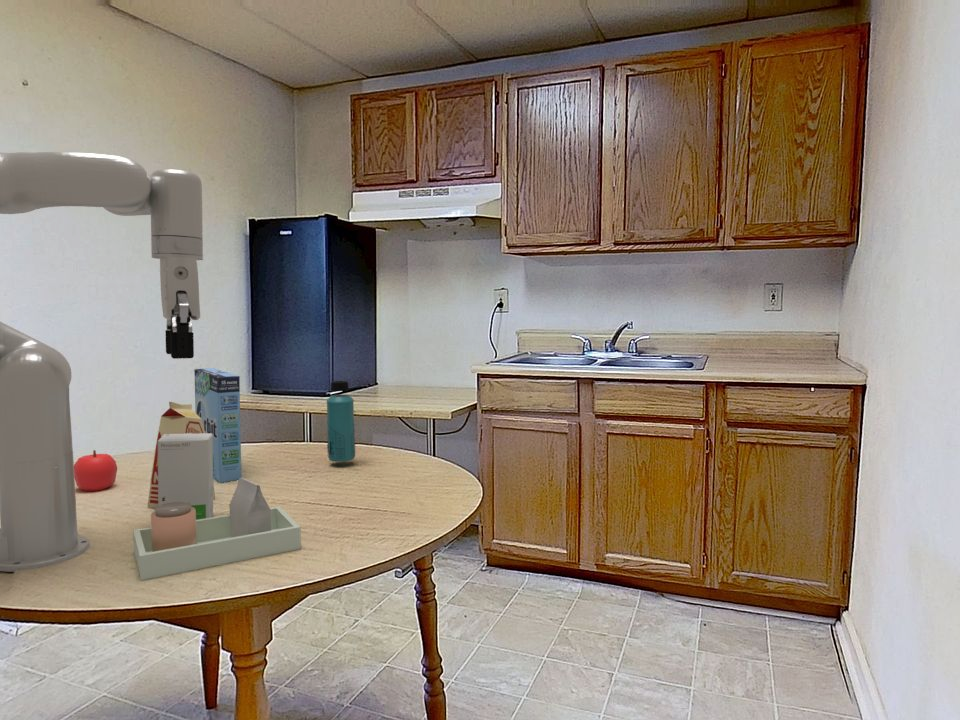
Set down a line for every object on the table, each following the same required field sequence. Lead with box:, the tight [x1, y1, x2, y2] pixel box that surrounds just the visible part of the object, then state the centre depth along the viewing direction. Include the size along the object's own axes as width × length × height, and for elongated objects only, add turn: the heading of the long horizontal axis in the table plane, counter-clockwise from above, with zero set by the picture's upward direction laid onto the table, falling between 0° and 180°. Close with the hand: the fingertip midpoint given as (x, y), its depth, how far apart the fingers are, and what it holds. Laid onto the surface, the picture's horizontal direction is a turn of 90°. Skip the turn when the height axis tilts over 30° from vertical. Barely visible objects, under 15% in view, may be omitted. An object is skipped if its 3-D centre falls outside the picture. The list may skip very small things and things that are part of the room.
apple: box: [74, 449, 118, 492], centre depth 136 cm, size 8×8×8 cm
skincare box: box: [158, 433, 214, 520], centre depth 113 cm, size 8×7×16 cm
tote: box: [132, 505, 302, 582], centre depth 100 cm, size 22×12×4 cm, turn 122°
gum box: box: [193, 367, 242, 484], centre depth 147 cm, size 19×5×23 cm, turn 37°
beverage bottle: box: [326, 380, 356, 463], centre depth 154 cm, size 6×7×20 cm
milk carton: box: [147, 401, 216, 509], centre depth 125 cm, size 9×9×20 cm
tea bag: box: [229, 477, 271, 538], centre depth 103 cm, size 4×7×10 cm, turn 42°
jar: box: [150, 502, 197, 552], centre depth 97 cm, size 6×6×8 cm
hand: (179, 355), depth 107 cm, fingers open, 9 cm apart
